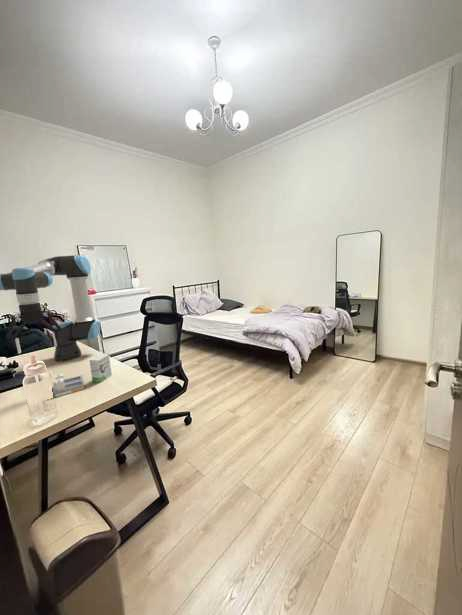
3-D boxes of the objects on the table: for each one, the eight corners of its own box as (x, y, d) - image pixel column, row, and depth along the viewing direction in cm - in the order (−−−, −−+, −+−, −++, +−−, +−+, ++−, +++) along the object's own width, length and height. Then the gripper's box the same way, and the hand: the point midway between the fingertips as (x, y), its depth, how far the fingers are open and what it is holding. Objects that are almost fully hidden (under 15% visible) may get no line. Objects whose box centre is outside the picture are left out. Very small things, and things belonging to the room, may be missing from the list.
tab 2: (57, 388, 116) (55, 378, 115) (64, 386, 117) (62, 376, 117) (57, 392, 113) (55, 381, 112) (65, 390, 114) (63, 379, 113)
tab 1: (57, 383, 122) (55, 373, 121) (64, 381, 123) (62, 371, 122) (57, 386, 118) (55, 376, 117) (64, 384, 120) (62, 374, 119)
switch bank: (54, 386, 122) (53, 382, 122) (82, 379, 128) (82, 375, 128) (54, 397, 111) (53, 392, 111) (85, 389, 118) (84, 384, 117)
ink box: (103, 374, 133) (100, 353, 131) (112, 375, 132) (109, 353, 130) (92, 382, 124) (88, 360, 122) (101, 382, 123) (97, 360, 121)
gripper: (-11, 308, 101) (1, 358, 104) (62, 300, 114) (70, 345, 118) (-7, 306, 107) (4, 353, 110) (62, 299, 120) (69, 341, 124)
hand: (38, 349), depth 114 cm, fingers open, 12 cm apart
